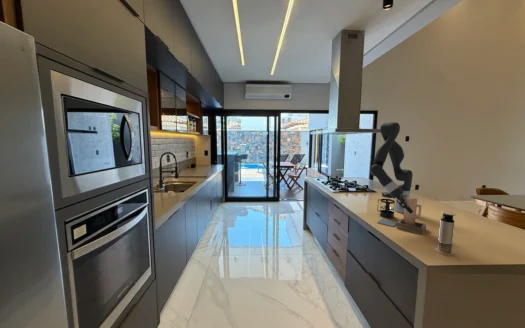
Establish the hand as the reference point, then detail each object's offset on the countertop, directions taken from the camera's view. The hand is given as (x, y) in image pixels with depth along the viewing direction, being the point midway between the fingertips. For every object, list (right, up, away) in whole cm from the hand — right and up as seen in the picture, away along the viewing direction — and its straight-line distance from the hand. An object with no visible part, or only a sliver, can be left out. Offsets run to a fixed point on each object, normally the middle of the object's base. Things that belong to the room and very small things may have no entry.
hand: (413, 211), depth 141 cm
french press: (-3, -9, +25) cm, 27 cm away
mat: (-10, -10, +11) cm, 18 cm away
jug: (0, -9, +1) cm, 9 cm away
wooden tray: (0, -11, +1) cm, 11 cm away
